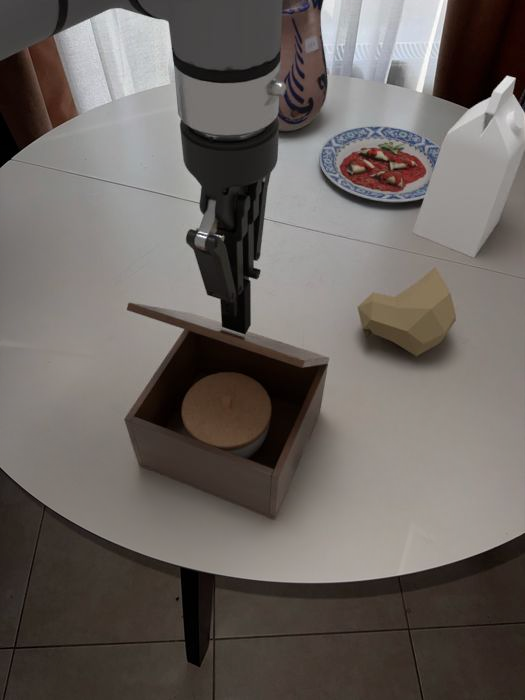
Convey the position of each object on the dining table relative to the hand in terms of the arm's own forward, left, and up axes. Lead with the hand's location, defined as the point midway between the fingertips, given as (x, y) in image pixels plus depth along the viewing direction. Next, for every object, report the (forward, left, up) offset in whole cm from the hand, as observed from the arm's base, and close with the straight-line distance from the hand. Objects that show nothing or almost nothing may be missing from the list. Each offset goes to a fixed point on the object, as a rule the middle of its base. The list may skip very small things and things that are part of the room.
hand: (236, 325), depth 62 cm
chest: (0, -2, -20) cm, 20 cm away
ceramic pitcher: (-24, +74, -20) cm, 80 cm away
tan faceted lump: (+16, +24, -20) cm, 35 cm away
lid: (0, 0, -2) cm, 2 cm away
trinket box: (0, -3, -19) cm, 20 cm away
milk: (+19, +53, -20) cm, 60 cm away
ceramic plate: (+2, +65, -20) cm, 68 cm away
